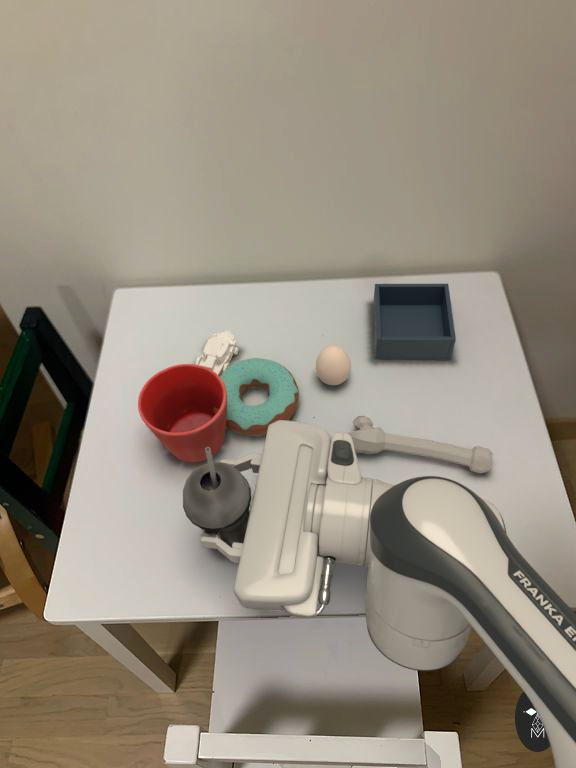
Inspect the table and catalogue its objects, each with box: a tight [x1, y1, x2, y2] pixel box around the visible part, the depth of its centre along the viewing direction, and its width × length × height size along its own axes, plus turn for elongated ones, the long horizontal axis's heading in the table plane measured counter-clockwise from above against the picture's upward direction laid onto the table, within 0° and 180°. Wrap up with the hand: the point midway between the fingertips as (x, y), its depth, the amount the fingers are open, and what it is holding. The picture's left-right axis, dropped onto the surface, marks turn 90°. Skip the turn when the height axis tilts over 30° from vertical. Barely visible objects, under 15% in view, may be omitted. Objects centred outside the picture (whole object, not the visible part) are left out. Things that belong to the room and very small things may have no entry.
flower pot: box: [137, 363, 227, 463], centre depth 76 cm, size 11×11×10 cm
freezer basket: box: [372, 283, 457, 361], centre depth 86 cm, size 11×11×5 cm
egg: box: [315, 344, 352, 386], centre depth 81 cm, size 5×5×7 cm
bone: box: [347, 415, 494, 474], centre depth 75 cm, size 18×5×4 cm, turn 71°
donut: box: [213, 357, 300, 437], centre depth 81 cm, size 12×12×4 cm
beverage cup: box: [182, 447, 252, 548], centre depth 63 cm, size 7×7×20 cm
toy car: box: [194, 330, 240, 376], centre depth 86 cm, size 5×8×4 cm, turn 162°
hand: (211, 500), depth 64 cm, fingers closed on beverage cup, 6 cm apart
